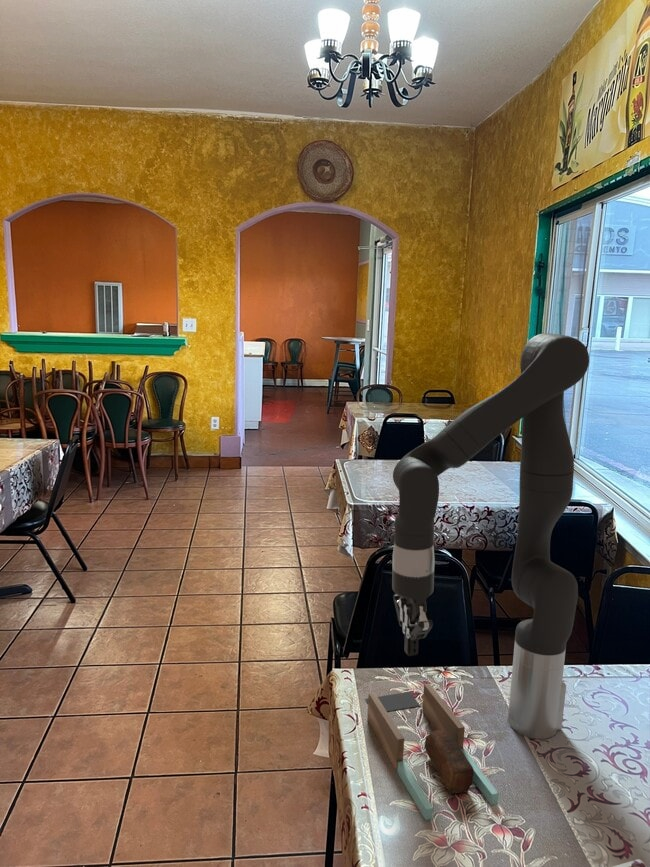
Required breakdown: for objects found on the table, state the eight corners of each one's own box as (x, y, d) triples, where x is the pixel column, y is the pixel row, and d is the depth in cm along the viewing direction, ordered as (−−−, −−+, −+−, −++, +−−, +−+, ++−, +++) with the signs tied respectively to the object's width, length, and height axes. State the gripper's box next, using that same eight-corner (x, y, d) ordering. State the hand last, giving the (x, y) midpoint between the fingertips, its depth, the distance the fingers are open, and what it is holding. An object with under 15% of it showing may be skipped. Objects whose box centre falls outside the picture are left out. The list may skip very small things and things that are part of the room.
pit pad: (409, 692, 134) (409, 691, 134) (420, 706, 129) (420, 705, 129) (364, 700, 131) (364, 698, 131) (373, 714, 126) (373, 713, 126)
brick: (471, 793, 106) (475, 769, 105) (449, 795, 105) (453, 771, 104) (443, 748, 116) (447, 725, 115) (423, 750, 115) (427, 727, 114)
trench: (427, 710, 128) (429, 683, 127) (462, 756, 115) (464, 727, 114) (367, 721, 124) (368, 693, 123) (396, 770, 111) (397, 739, 110)
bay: (463, 758, 115) (464, 748, 114) (497, 803, 104) (498, 793, 104) (397, 772, 111) (397, 762, 110) (425, 820, 100) (426, 809, 100)
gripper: (448, 578, 111) (445, 669, 115) (416, 551, 124) (414, 633, 127) (409, 584, 109) (407, 676, 113) (380, 555, 121) (379, 639, 125)
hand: (411, 653), depth 120 cm, fingers closed
